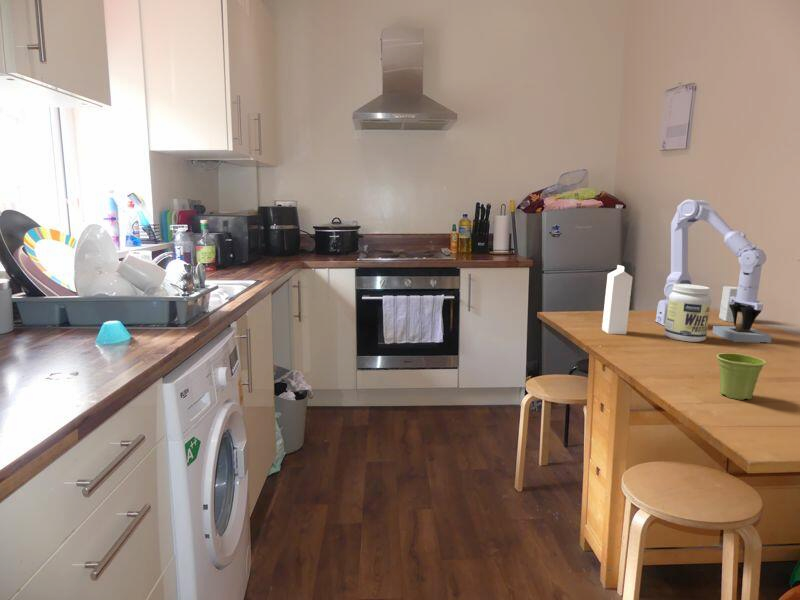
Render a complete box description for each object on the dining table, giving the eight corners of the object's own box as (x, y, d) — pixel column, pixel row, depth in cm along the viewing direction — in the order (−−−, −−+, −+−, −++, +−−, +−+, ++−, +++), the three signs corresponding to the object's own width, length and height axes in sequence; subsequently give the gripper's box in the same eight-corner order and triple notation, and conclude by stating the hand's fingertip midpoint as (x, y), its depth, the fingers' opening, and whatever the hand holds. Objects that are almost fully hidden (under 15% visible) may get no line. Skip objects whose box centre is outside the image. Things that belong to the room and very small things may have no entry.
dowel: (739, 335, 183) (742, 313, 182) (731, 332, 187) (734, 311, 186) (751, 335, 183) (754, 314, 182) (743, 332, 187) (746, 311, 186)
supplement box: (746, 323, 211) (751, 289, 209) (725, 321, 212) (729, 288, 210) (739, 319, 218) (744, 286, 216) (718, 317, 219) (722, 285, 217)
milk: (607, 333, 184) (614, 266, 180) (601, 329, 190) (608, 264, 186) (626, 334, 184) (633, 267, 180) (619, 330, 190) (626, 264, 186)
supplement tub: (680, 343, 175) (687, 289, 172) (655, 333, 187) (661, 283, 184) (715, 342, 177) (722, 289, 174) (688, 333, 189) (694, 283, 186)
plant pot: (710, 397, 125) (715, 359, 124) (712, 386, 133) (717, 350, 131) (760, 406, 120) (766, 367, 119) (759, 394, 128) (765, 357, 127)
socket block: (733, 341, 179) (734, 334, 179) (712, 333, 191) (713, 325, 191) (770, 343, 179) (771, 335, 179) (747, 334, 191) (748, 327, 191)
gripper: (775, 290, 175) (768, 333, 178) (746, 283, 189) (740, 323, 192) (752, 289, 175) (746, 332, 177) (725, 283, 189) (720, 322, 192)
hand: (742, 327), depth 185 cm, fingers closed on dowel, 4 cm apart
